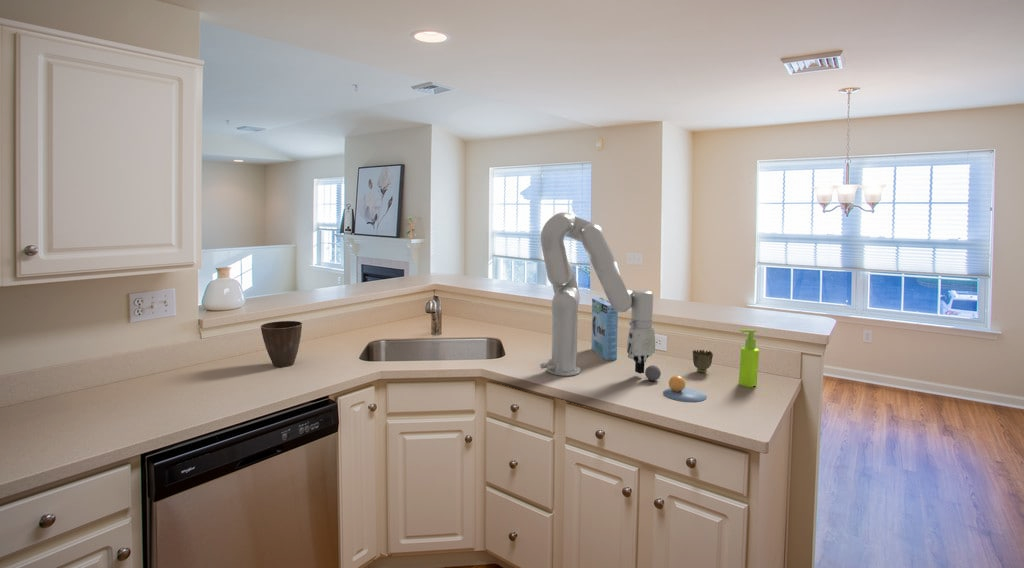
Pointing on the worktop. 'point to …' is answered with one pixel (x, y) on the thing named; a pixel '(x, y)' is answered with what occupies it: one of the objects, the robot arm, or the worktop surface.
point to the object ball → (677, 383)
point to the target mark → (685, 395)
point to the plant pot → (282, 341)
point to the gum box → (604, 329)
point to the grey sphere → (652, 373)
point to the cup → (702, 360)
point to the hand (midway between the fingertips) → (639, 372)
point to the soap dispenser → (749, 361)
